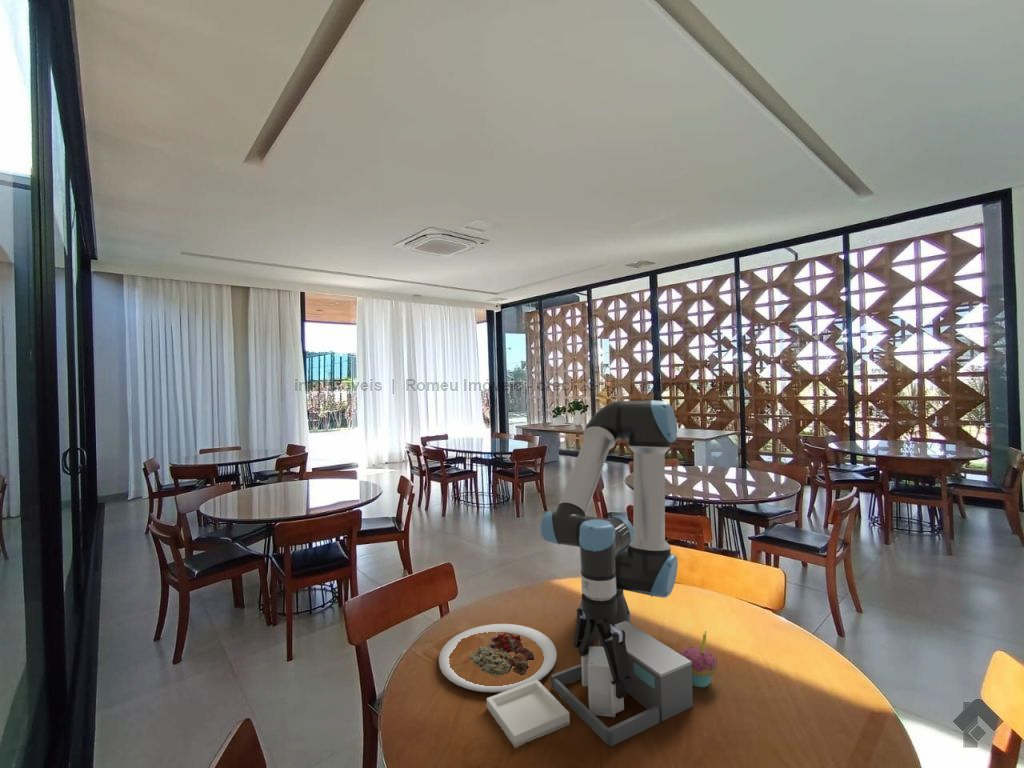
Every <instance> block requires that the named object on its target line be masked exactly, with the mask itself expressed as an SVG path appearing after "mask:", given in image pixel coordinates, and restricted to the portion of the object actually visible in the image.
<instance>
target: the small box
mask: <svg viewBox="0 0 1024 768" xmlns="http://www.w3.org/2000/svg"><path fill="white" fill-rule="evenodd" d="M588 654H589V655H588V665H587V668H588V686H587V691H588V692H587V693H588V709H589V710H590V711H591V712H592V713H593V714H594V715H595V716H596V717H599V716H600V717H609V718H616V716H617V715H616V714H617V713H615V714H613V713H612V710H611V680H613V677H612V674H611V670H610V667H609V664H608V660H607V657H606V654H605V650H604V648H603V647H598V645H597V646H594V645H592V646H589V652H588Z"/></svg>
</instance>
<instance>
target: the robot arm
mask: <svg viewBox="0 0 1024 768" xmlns="http://www.w3.org/2000/svg"><path fill="white" fill-rule="evenodd" d="M676 419H677V418H676V414H675V412H674V409H673V407H672V405H671V404H670V403H669V402H667V401H665V400H656V399H655V400H654V399H653V400H616V401H612V402H611V403H610V402H609V403H608V404H606V405H604V406H603V407H601V408H600V409H598V411H597V412H595V414H594V415H593V416H592V417H591V418H590V420H589V421H588V423H586V425H585V429H584V431H583V439H584V441H583V443H582V445H581V448H580V450H579V453H578V454H577V455H578V456H577V457H576V461H575V463H574V465H573V469H572V471H571V473H570V476H569V478H568V480H567V482H566V486H565V488H564V490H563V493H562V495H561V498H560V501H559V503H558V504H557V507H556V509H555V510H554V511H553V510H552V511H550V510H549V511H546V512H545V514H543V515H542V517H541V520H540V524H539V525H540V526H539V527H540V528H539V529H540V534H541V536H542V539H543V540H544V541H546V542H549V543H552V544H557V545H558V546H559V545H564V546H571V547H577V548H578V547H579V553H580V555H579V556H580V557H579V559H580V575H581V578H580V579H581V592H582V593H581V601H580V605H579V607H578V608H576V617H577V619H576V626H575V633H574V641H573V647H574V649H577V650H578V654H579V655H580V664H581V668H582V679H581V686H582V687H583V688H584V687H588V668H587V665H588V655H589V646H594V642H595V640H596V638H597V640H598V639H599V641H600V644H601V646H602V647H603V648H604V650H605V654H606V657H607V660H608V664H609V667H610V670H611V674H612V677H613V680H611V710H612V713H613V714H615V713H616V714H617V713H620V712H623V711H624V710H625V702H624V701H625V700H624V698H625V696H626V691H625V684H626V683H629V682H631V681H632V676H631V671H630V665H629V660H628V655H627V649H626V644H625V631H624V630H620V631H619V630H618V629H617V628H615V624H618V623H621V622H624V621H627V622H629V623H631V612H630V609H629V606H628V603H627V600H626V597H625V594H624V591H627V592H630V593H631V592H632V593H637V594H642V595H645V596H650V597H652V598H653V597H656V598H662V599H665V598H668V597H669V596H671V594H672V591H673V590H674V587H675V583H676V580H677V575H678V557H677V555H675V554H674V553H671V551H672V550H671V545H670V544H669V543H668V542H667V541H666V539H665V538H666V536H665V535H666V522H665V520H666V514H665V512H666V511H665V510H666V503H665V501H666V499H665V498H666V496H665V495H666V493H665V492H666V491H665V489H666V485H665V484H666V482H665V480H666V478H665V477H666V475H665V474H666V473H665V471H666V469H665V467H666V466H665V465H666V463H665V459H666V456H665V455H666V453H667V452H668V451H669V450H670V449H671V443H675V441H676V440H677V438H678V437H677V434H678V426H677V425H678V424H677V420H676ZM621 440H622V441H628V442H627V444H628V445H627V446H628V448H629V449H630V450H631V451H632V452H633V517H632V518H633V522H632V523H631V521H630V520H629V519H628V518H626V517H624V516H622V515H614V516H610V517H609V518H602V517H595V516H588V515H587V513H588V510H589V507H590V505H591V502H592V498H593V496H594V493H595V491H596V487H597V485H598V482H599V478H600V476H601V474H602V470H603V468H604V465H605V463H606V460H607V457H608V454H609V452H610V450H611V449H613V448H614V447H615V445H616V442H617V441H621ZM609 638H611V640H609V641H606V642H605V640H607V639H609ZM617 675H618V676H617Z"/></svg>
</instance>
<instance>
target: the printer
mask: <svg viewBox="0 0 1024 768" xmlns="http://www.w3.org/2000/svg"><path fill="white" fill-rule="evenodd" d="M615 628H617V629H618V630H619V631H620V630H624V631H625V644H626V649H627V655H628V660H629V665H630V671H631V676H632V681H631V682H629V683H626V684H625V693H627V694H628V695H629V696H631V697H632V699H634V700H635V701H636V702H638V703H639V704H640V705H641V706H643V707H644V708H645V709H646V710H644V711H642V712H640V713H638V714H636V715H633V716H631V717H629V718H627V719H625V720H623V721H621V722H618V723H616V724H615V725H612V726H609V727H607V725H606V724H604V723H603V721H601V719H599V718H598V716H596V715H594V714H593V713H592V712H591V711H590V710H589V707H587V706H586V705H585V704H584V703H582V701H581V700H580V699H578V698H577V697H576V695H574V694H573V693H572V692H571V691H570V690H569V689H568V688H567V687H566V686H567V685H566V684H568V683H570V682H573V681H575V682H577V681H576V680H578V679H580V680H582V679H581V678H582V668H581V663H579V664H577V665H575V666H572V667H570V668H567V669H564V670H562V671H559V672H556V673H553V674H551V675H550V676H551V677H550V679H551V689H552V688H553V689H554V690H555V691H556V692H557V693H558V694H559V695H560V696H561V697H562V698H561V697H560V696H559V695H558V694H557V693H556V692H555V691H554V690H553V689H552V690H553V691H554V692H555V693H556V694H557V695H558V696H559V697H560V698H561V699H562V700H563V702H564V703H566V704H567V705H568V707H569V708H570V709H571V710H573V712H574V713H576V715H577V716H578V717H579V718H580V719H581V720H582V721H583V722H584V723H585V722H586V723H587V724H588V725H589V726H590V727H591V728H590V727H589V728H590V729H591V731H594V733H595V734H596V735H597V736H598V737H599V738H600V739H601V740H602V741H603V742H604V743H605V744H606V745H607V746H608V747H609V748H611V747H613V746H615V745H617V744H619V743H622V742H623V741H625V740H627V739H630V738H631V737H635V736H636V735H638V734H640V733H642V732H644V731H646V730H648V729H650V728H652V727H654V726H657V724H660V723H661V722H664V721H666V720H668V719H670V718H672V717H674V716H676V715H679V714H680V713H682V712H684V711H686V710H688V709H690V708H693V707H694V699H693V698H694V697H693V694H694V693H693V685H692V661H690V660H688V659H687V658H685V657H684V656H682V655H680V654H679V653H680V652H676V651H675V650H674V649H672V648H671V647H669V646H668V645H665V644H664V643H663V642H661V641H660V640H658V639H656V638H655V637H653V636H651V635H650V634H648V633H646V631H643V630H642V629H640V628H638V627H637V626H635V625H634V624H632V623H631V622H630V623H629V622H627V621H624V622H621V623H618V624H615ZM609 640H611V638H609V639H607V640H605V642H606V641H609ZM597 646H598V647H602V646H601V644H600V641H599V639H598V638H597ZM617 676H618V675H617ZM578 681H579V680H578ZM573 683H574V682H573ZM570 684H571V683H570ZM564 685H565V686H564ZM568 685H569V684H568ZM586 723H585V724H586ZM587 724H586V725H587ZM588 725H587V726H588Z"/></svg>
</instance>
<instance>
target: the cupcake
mask: <svg viewBox="0 0 1024 768" xmlns="http://www.w3.org/2000/svg"><path fill="white" fill-rule="evenodd" d="M706 640H707V630H705V632H704V633H703V634H702V641H701V647H697V646H695V647H693V646H690V647H686V648H683V649H682V651H680V652H678V653H679V654H680V655H682V656H684V657H685V658H687V659H688V660H690V661H692V686H694V687H696V688H697V687H698V688H706V687H708V686H709V685H710V683H711V680H712V676H714V675H715V674H716V672H717V671H718V661H717V660H718V659H717V658H716V657H715V655H713V654H712V653H711V652H709V651H708V650H706V649H705V647H706V642H707V641H706Z"/></svg>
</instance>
